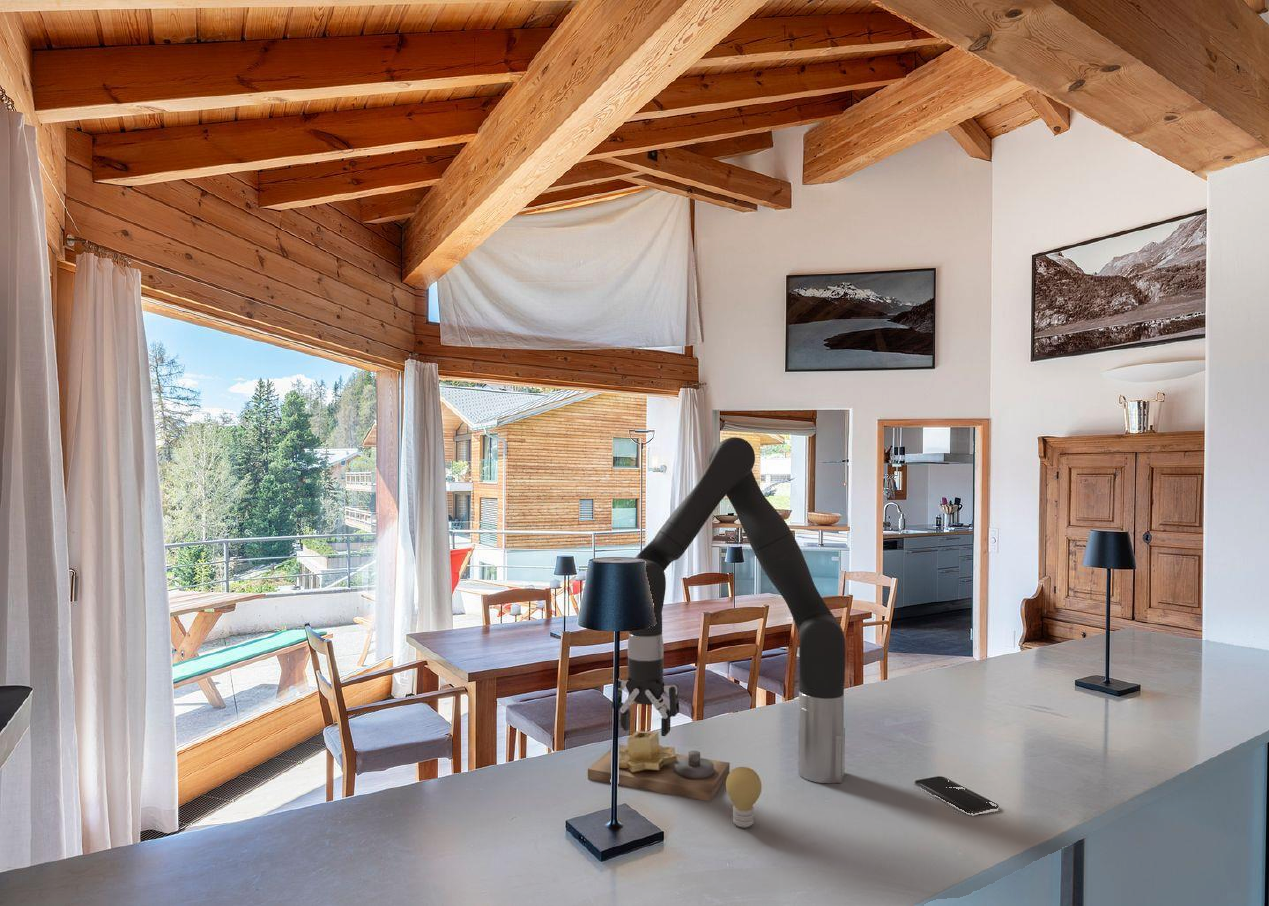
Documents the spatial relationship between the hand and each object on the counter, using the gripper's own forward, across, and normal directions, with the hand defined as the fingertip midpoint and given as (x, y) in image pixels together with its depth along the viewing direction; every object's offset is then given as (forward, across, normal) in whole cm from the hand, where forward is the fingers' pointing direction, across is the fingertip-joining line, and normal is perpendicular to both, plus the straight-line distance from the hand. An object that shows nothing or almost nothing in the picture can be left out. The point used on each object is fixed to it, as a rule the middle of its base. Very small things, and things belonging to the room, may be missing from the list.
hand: (645, 732), depth 153 cm
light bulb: (+9, -24, +14) cm, 29 cm away
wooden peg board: (+8, -3, 0) cm, 9 cm away
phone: (+10, -60, -14) cm, 63 cm away
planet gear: (+6, 0, 0) cm, 6 cm away
